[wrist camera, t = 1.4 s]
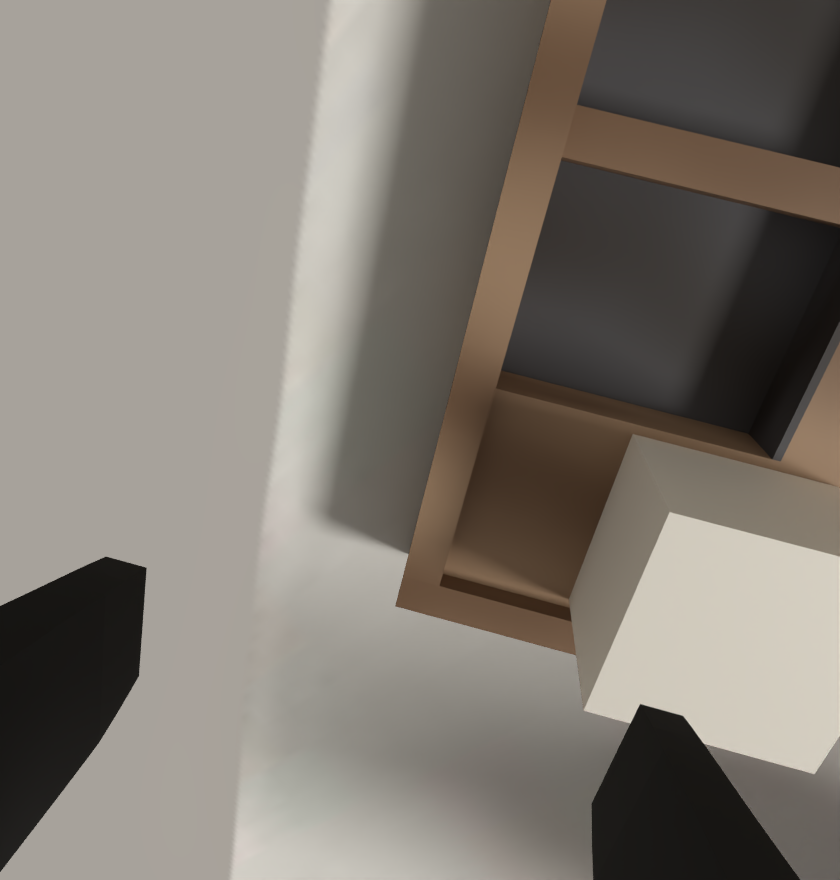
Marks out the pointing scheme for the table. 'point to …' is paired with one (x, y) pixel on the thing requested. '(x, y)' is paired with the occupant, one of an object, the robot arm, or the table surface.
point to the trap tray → (639, 291)
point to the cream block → (715, 603)
